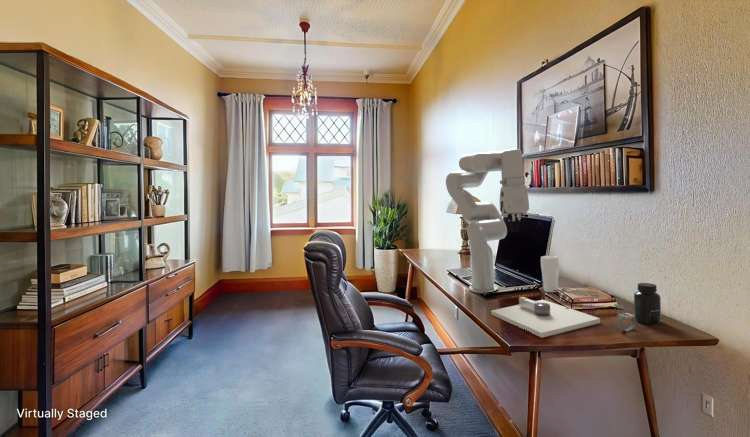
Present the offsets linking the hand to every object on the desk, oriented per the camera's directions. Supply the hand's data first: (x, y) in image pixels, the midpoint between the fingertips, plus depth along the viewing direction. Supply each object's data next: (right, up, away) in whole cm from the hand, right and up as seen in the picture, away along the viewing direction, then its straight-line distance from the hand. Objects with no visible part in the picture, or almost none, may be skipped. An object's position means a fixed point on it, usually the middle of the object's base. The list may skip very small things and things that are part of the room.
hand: (514, 231), depth 136 cm
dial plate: (+5, -30, -12) cm, 32 cm away
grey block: (+3, -28, -8) cm, 29 cm away
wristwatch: (+24, -30, -26) cm, 46 cm away
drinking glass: (+22, -27, +17) cm, 39 cm away
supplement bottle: (+34, -28, -21) cm, 49 cm away
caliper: (+27, -28, -2) cm, 39 cm away
